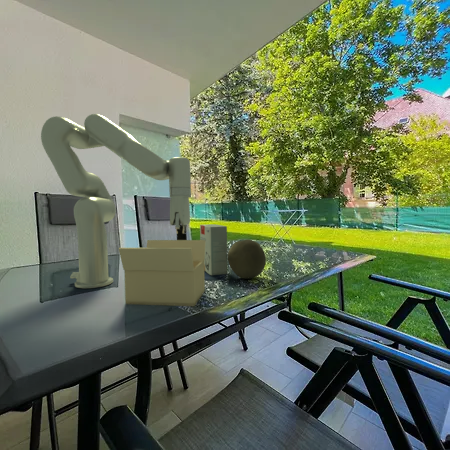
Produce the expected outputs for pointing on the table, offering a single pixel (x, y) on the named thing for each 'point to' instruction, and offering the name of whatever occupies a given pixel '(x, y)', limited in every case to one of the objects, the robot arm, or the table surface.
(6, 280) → the table surface
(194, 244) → the back flap
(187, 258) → the front flap
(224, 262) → the hard drive box
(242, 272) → the cantaloupe
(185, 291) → the cardboard box
